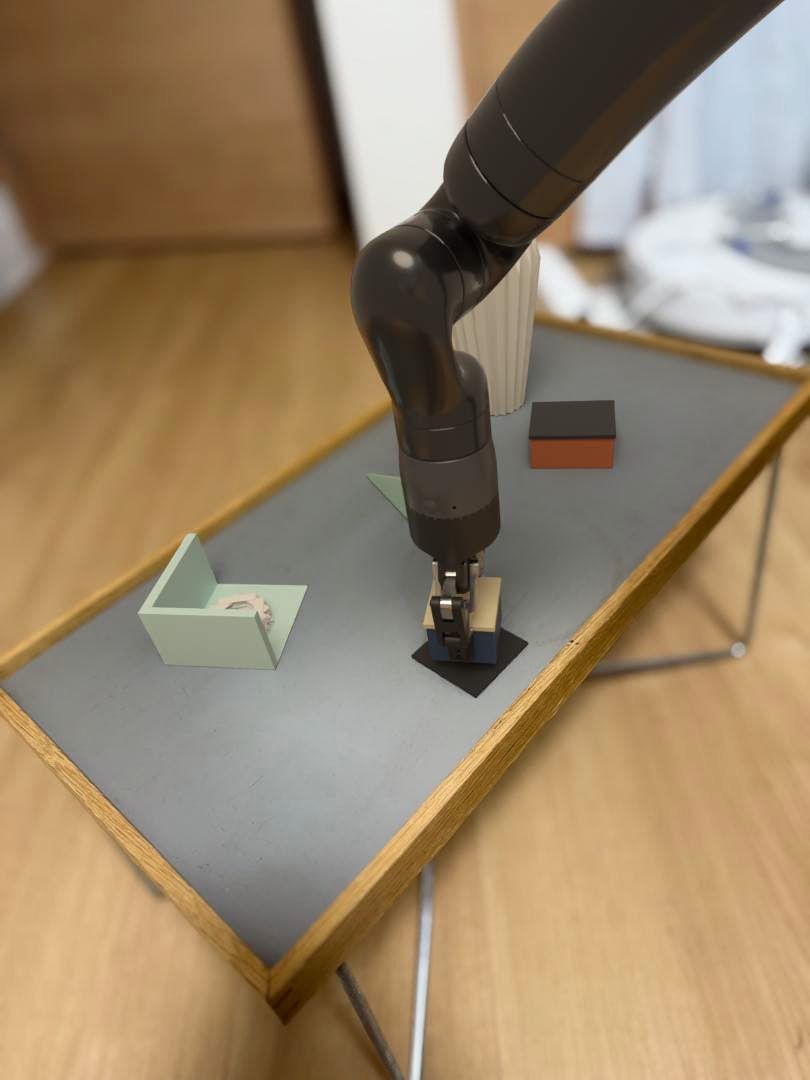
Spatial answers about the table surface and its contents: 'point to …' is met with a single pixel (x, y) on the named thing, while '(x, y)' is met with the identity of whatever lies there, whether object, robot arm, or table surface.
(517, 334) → the vase
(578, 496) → the table surface
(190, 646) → the right angle wall
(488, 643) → the top container
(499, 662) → the mat
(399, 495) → the planter
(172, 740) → the table surface
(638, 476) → the table surface
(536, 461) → the bottom container
